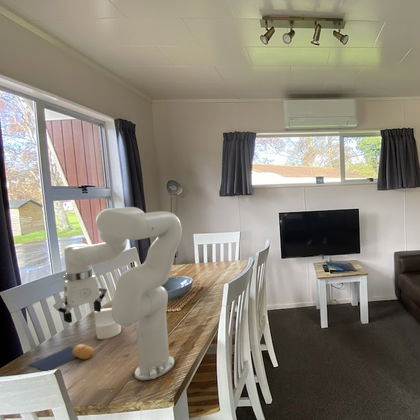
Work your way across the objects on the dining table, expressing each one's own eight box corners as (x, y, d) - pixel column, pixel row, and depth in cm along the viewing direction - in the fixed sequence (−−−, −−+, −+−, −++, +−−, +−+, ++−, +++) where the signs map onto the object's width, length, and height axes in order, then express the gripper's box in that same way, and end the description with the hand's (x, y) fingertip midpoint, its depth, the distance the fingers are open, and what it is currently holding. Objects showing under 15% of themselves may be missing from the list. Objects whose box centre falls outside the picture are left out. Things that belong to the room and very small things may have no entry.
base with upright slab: (123, 327, 133) (121, 303, 132) (117, 336, 124) (114, 311, 123) (101, 331, 129) (99, 307, 128) (93, 340, 121) (90, 315, 120)
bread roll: (97, 356, 110) (96, 345, 109) (83, 363, 106) (82, 352, 105) (83, 350, 113) (82, 340, 113) (69, 357, 109) (69, 346, 109)
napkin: (84, 353, 112) (84, 353, 112) (46, 372, 101) (46, 371, 101) (68, 347, 116) (68, 347, 116) (30, 365, 105) (29, 364, 105)
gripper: (56, 283, 98) (61, 328, 99) (109, 270, 114) (113, 308, 115) (45, 281, 101) (50, 325, 102) (98, 268, 117) (102, 306, 118)
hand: (83, 316), depth 109 cm, fingers open, 9 cm apart
